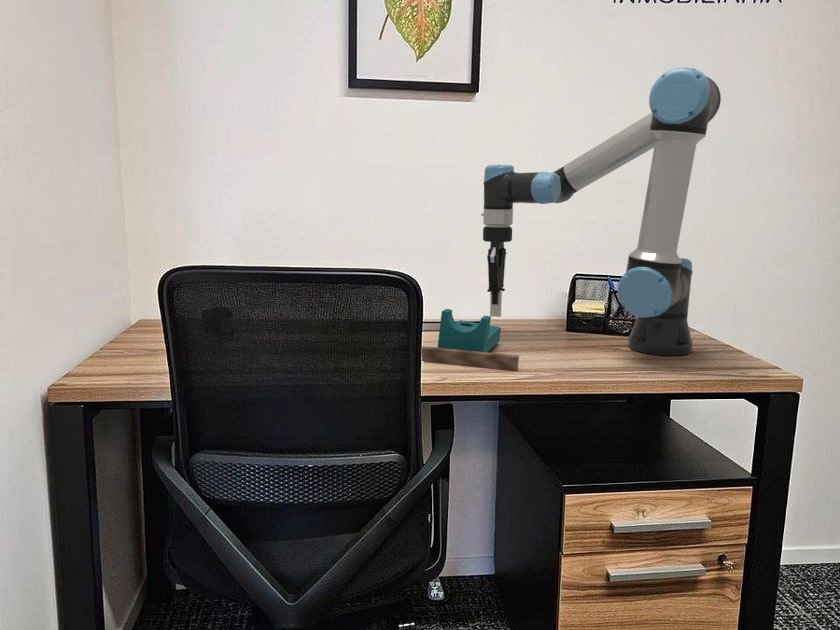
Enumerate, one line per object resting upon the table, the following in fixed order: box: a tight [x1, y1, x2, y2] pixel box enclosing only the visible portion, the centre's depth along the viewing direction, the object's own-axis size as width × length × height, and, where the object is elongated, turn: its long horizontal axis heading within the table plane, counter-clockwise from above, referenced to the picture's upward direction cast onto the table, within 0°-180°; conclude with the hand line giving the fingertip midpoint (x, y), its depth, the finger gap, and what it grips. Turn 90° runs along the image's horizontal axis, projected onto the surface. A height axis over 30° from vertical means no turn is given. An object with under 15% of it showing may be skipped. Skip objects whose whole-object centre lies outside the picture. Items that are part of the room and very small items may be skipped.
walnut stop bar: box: [421, 345, 520, 372], centre depth 154 cm, size 22×2×3 cm, turn 72°
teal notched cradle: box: [437, 308, 502, 353], centre depth 167 cm, size 18×11×10 cm, turn 161°
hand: (495, 315), depth 182 cm, fingers closed
